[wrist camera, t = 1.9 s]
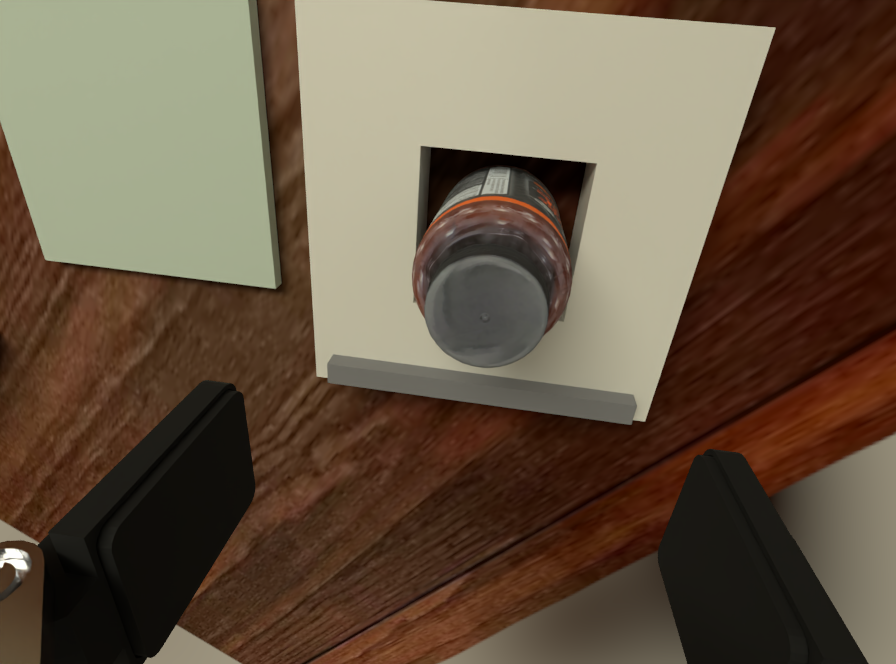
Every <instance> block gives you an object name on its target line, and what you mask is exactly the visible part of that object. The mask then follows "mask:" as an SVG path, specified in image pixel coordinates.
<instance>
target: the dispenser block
mask: <svg viewBox="0 0 896 664" xmlns="http://www.w3.org/2000/svg"><path fill="white" fill-rule="evenodd" d="M295 11H296V28H297V45H298V62H299V79H300V96H301V114H302V131H303V148H304V165H305V182H306V199H307V216H308V233H309V250H310V267H311V285H312V302H313V319H314V336H315V353H316V370H317V376H318V377H325V378H328V383H334V384H341V385H348V386H355V387H362V388H369V389H377V390H384V391H391V392H398V393H405V394H413V395H420V396H427V397H434V398H441V399H449V400H456V401H463V402H470V403H477V404H485V405H492V406H499V407H506V408H513V409H521V410H528V411H535V412H542V413H549V414H557V415H564V416H571V417H578V418H585V419H593V420H600V421H607V422H614V423H621V424H628V425H631V424H632V421H633V420H637V421H644V422H645V420H646V417H647V414H648V411H649V408H650V405H651V402H652V399H653V396H654V393H655V390H656V387H657V384H658V381H659V378H660V375H661V372H662V369H663V366H664V363H665V360H666V357H667V354H668V350H669V347H670V344H671V341H672V338H673V335H674V332H675V329H676V326H677V323H678V320H679V317H680V314H681V311H682V308H683V305H684V302H685V299H686V296H687V293H688V290H689V287H690V284H691V281H692V278H693V275H694V272H695V269H696V266H697V263H698V260H699V257H700V254H701V251H702V248H703V245H704V242H705V239H706V236H707V233H708V230H709V227H710V224H711V221H712V218H713V215H714V212H715V209H716V206H717V203H718V200H719V197H720V194H721V191H722V188H723V185H724V182H725V179H726V176H727V173H728V170H729V167H730V164H731V161H732V158H733V155H734V152H735V149H736V146H737V143H738V140H739V137H740V134H741V131H742V128H743V125H744V122H745V119H746V116H747V113H748V110H749V107H750V103H751V100H752V97H753V94H754V91H755V88H756V85H757V82H758V79H759V76H760V73H761V70H762V67H763V64H764V61H765V58H766V55H767V52H768V49H769V46H770V43H771V40H772V37H773V34H774V31H775V28H773V27H761V26H748V25H735V24H722V23H709V22H697V21H684V20H671V19H658V18H645V17H632V16H620V15H607V14H594V13H581V12H568V11H555V10H543V9H530V8H517V7H504V6H491V5H479V4H466V3H453V2H440V1H427V0H295ZM431 147H439V148H449V149H458V150H468V151H478V152H488V153H498V154H508V155H518V156H528V157H538V158H548V159H558V160H568V161H578V162H587V163H586V168H585V173H584V178H583V183H582V188H581V193H580V198H579V203H578V208H577V213H576V218H575V223H574V228H573V233H572V238H571V243H570V248H569V254H570V260H571V267H572V286H571V292H570V297H569V299H568V302H567V305H566V308H565V310H564V312H563V314H562V315H561V317H560V319H559V320H558V321H557V323H556V324H555V325H554V326H553V328H552V329H551V330H550V331H548V332H547V333H546V334H545V335H544V336H543V337H542V339H541V341H540V342H539V343H538V345H537V346H536V347H535V348H534V349H533V350H532V351H531V352H530V353H529V354H527V355H526V356H525V357H524V358H522V359H520V360H518V361H516V362H514V363H512V364H509V365H505V366H501V367H494V368H481V367H475V366H470V365H467V364H464V363H461V362H459V361H457V360H455V359H453V358H452V357H451V356H449V355H447V354H446V353H444V352H443V351H442V350H441V349H440V348H439V346H438V345H437V344H436V343H435V341H434V340H433V339H432V337H431V335H430V333H429V330H428V328H427V325H426V321H425V318H424V317H423V315H422V314H421V312H420V310H419V308H418V305H417V303H416V300H415V297H414V293H413V286H412V268H413V261H414V258H415V254H416V251H417V249H418V246H419V244H420V242H421V240H422V238H423V237H424V235H425V233H426V226H427V209H428V191H429V173H430V156H431Z"/></svg>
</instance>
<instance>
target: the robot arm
mask: <svg viewBox="0 0 896 664" xmlns="http://www.w3.org/2000/svg"><path fill="white" fill-rule="evenodd" d="M254 493H255V479H254V472H253V465H252V457H251V450H250V442H249V435H248V428H247V420H246V413H245V405H244V398H243V395H242V393H241V392H238V391H236V388H235V386H234V385H233V384H231V383H224V382H216V381H209V380H205V381H203V382H201V383H200V384H199V385H198V386H197V387H196V388H195V389H194V390H193V391H192V392H191V393H190V394H189V395H187V396H186V397H185V398H184V399H183V400H182V401H181V402H180V403H179V404H178V405H177V406H176V407H175V408H174V409H173V410H172V411H171V412H170V413H169V414H168V415H167V416H166V417H165V418H164V419H163V420H162V421H161V422H160V423H159V424H158V425H157V426H156V427H155V428H154V429H153V430H152V431H151V432H150V433H149V434H148V435H147V436H146V437H145V438H144V439H143V440H142V441H141V442H140V443H139V444H138V445H137V446H136V447H135V448H133V449H132V450H131V451H130V452H129V453H128V454H127V455H126V456H125V457H124V458H123V459H122V460H121V461H120V462H119V463H118V464H117V465H116V466H115V467H114V468H113V469H112V470H111V471H110V472H109V473H108V474H107V475H106V476H105V477H104V478H103V479H102V480H101V481H100V482H99V483H98V484H97V485H96V486H95V487H94V488H93V489H92V490H91V491H90V492H89V493H88V494H87V495H86V496H85V497H84V498H83V499H82V500H81V501H80V502H78V503H77V504H76V505H75V506H74V507H73V508H72V509H71V510H70V511H69V512H68V513H67V514H66V515H65V516H64V517H63V518H62V519H61V520H60V521H59V522H58V523H57V524H56V525H55V526H54V527H53V528H52V529H51V530H50V531H49V532H48V534H49V535H48V536H46V537H45V538H44V539H43V540H42V541H41V542H40V543H39V544H38V546H37V545H35V544H34V543H30V542H26V541H5V542H1V543H0V664H143V663H144V662H145V660H146V659H147V657H149V658H151V657H154V656H155V655H156V654H157V653H158V652H159V651H160V649H161V648H162V647H163V645H164V643H165V642H166V640H167V638H168V637H169V635H170V633H171V632H172V630H173V629H174V627H175V625H176V624H177V622H178V621H179V619H180V617H181V616H182V614H183V612H184V611H185V609H186V608H187V606H188V604H189V603H190V601H191V599H192V598H193V596H194V595H195V593H196V591H197V590H198V588H199V587H200V585H201V583H202V582H203V580H204V578H205V577H206V575H207V574H208V572H209V570H210V569H211V567H212V565H213V564H214V562H215V561H216V559H217V557H218V556H219V554H220V552H221V551H222V549H223V548H224V546H225V544H226V543H227V541H228V539H229V538H230V536H231V535H232V533H233V531H234V530H235V528H236V526H237V525H238V523H239V522H240V520H241V518H242V517H243V515H244V514H245V512H246V510H247V509H248V507H249V505H250V504H251V502H252V500H253V497H254ZM658 563H659V567H660V571H661V574H662V578H663V581H664V584H665V588H666V591H667V595H668V598H669V602H670V605H671V609H672V612H673V616H674V619H675V622H676V626H677V629H678V633H679V636H680V640H681V643H682V647H683V650H684V653H685V657H686V660H687V664H868V662H867V660H866V659H865V657H864V656H863V654H862V652H861V650H860V649H859V647H858V645H857V644H856V642H855V640H854V639H853V637H852V636H851V634H850V632H849V630H848V629H847V627H846V625H845V624H844V622H843V620H842V618H841V617H840V615H839V614H838V612H837V610H836V608H835V607H834V605H833V603H832V602H831V600H830V598H829V597H828V595H827V593H826V592H825V590H824V588H823V587H822V585H821V584H820V582H819V580H818V578H817V577H816V575H815V573H814V572H813V570H812V568H811V567H810V565H809V563H808V562H807V560H806V558H805V556H804V555H803V553H802V551H801V550H800V548H799V546H798V545H797V543H796V541H795V540H794V539H793V538H792V536H791V535H790V533H789V531H788V530H787V528H786V526H785V525H784V523H783V521H782V520H781V518H780V516H779V515H778V513H777V511H776V509H775V508H774V506H773V504H772V503H771V501H770V499H769V498H768V496H767V494H766V493H765V491H764V489H763V488H762V486H761V484H760V483H759V481H758V479H757V477H756V476H755V474H754V472H753V471H752V469H751V467H750V466H749V464H748V462H747V461H746V459H745V458H744V456H743V455H742V454H740V453H736V452H729V451H721V450H714V449H708V450H707V451H706V452H705V453H704V455H697V456H696V457H695V458H694V460H693V463H692V465H691V468H690V470H689V473H688V475H687V478H686V480H685V483H684V485H683V488H682V490H681V493H680V495H679V498H678V500H677V503H676V505H675V508H674V510H673V513H672V516H671V518H670V521H669V523H668V526H667V528H666V531H665V533H664V536H663V538H662V541H661V543H660V546H659V550H658Z"/></svg>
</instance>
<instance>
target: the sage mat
mask: <svg viewBox="0 0 896 664" xmlns="http://www.w3.org/2000/svg"><path fill="white" fill-rule="evenodd" d="M0 122H1V125H2V128H3V131H4V134H5V137H6V140H7V143H8V146H9V149H10V152H11V155H12V159H13V162H14V165H15V168H16V171H17V174H18V177H19V180H20V183H21V186H22V189H23V192H24V196H25V199H26V202H27V205H28V208H29V211H30V214H31V217H32V220H33V223H34V226H35V229H36V233H37V236H38V239H39V242H40V245H41V248H42V251H43V254H44V257H45V260H49V261H57V262H65V263H73V264H81V265H89V266H97V267H105V268H113V269H121V270H129V271H137V272H145V273H153V274H161V275H169V276H177V277H185V278H193V279H201V280H209V281H217V282H225V283H233V284H241V285H249V286H257V287H265V288H273V289H276V288H277V287H278V286H279V285H280V284H282V282H281V271H280V259H279V248H278V237H277V226H276V215H275V203H274V192H273V181H272V170H271V158H270V147H269V136H268V125H267V114H266V102H265V91H264V80H263V69H262V57H261V46H260V35H259V24H258V13H257V1H256V0H0Z"/></svg>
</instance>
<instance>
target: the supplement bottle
mask: <svg viewBox="0 0 896 664" xmlns="http://www.w3.org/2000/svg"><path fill="white" fill-rule="evenodd" d="M412 286H413V293H414V297H415V300H416V303H417V305H418V308H419V310H420V312H421V314H422V315H423V317H424V318H425V321H426V325H427V328H428V330H429V333H430V335H431V337H432V339H433V340H434V341H435V343H436V344H437V345H438V346H439V348H440V349H441V350H442V351H443V352H444V353H446V354H447V355H449V356H451V357H452V358H453V359H455V360H457V361H459V362H461V363H464V364H467V365H470V366H475V367H481V368H494V367H501V366H505V365H509V364H512V363H514V362H516V361H518V360H520V359H522V358H524V357H525V356H526V355H527V354H529V353H530V352H531V351H532V350H533V349H534V348H535V347H536V346H537V345H538V343H539V342H540V341H541V339H542V337H543V336H544V335H545V334H546V333H547V332H548V331H550V330H551V329H552V328H553V326H554V325H555V324H556V323H557V321H558V320H559V319H560V317H561V315H562V314H563V312H564V310H565V308H566V305H567V302H568V299H569V297H570V292H571V286H572V267H571V260H570V254H569V250H568V247H567V242H566V238H565V235H564V231H563V228H562V223H561V220H560V215H559V211H558V207H557V205H556V202H555V200H554V198H553V196H552V194H551V193H550V192H549V190H548V189H547V187H546V186H545V185H544V184H543V183H542V182H541V181H540V180H539V179H538V178H537V177H536V176H534V175H533V174H531V173H529V172H528V171H526V170H524V169H522V168H518V167H515V166H510V165H490V166H486V167H482V168H479V169H477V170H475V171H473V172H471V173H470V174H468V175H467V176H465V177H464V178H462V179H461V180H460V181H459V182H458V183H457V184H456V185H455V186H454V188H453V189H452V190H451V191H450V193H449V194H448V196H447V198H446V199H445V201H444V203H443V204H442V206H441V208H440V209H439V211H438V213H437V214H436V216H435V217H434V219H433V221H432V223H431V224H430V226H429V228H428V229H427V231H426V233H425V235H424V237H423V238H422V240H421V242H420V244H419V246H418V249H417V251H416V254H415V258H414V261H413V268H412Z"/></svg>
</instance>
